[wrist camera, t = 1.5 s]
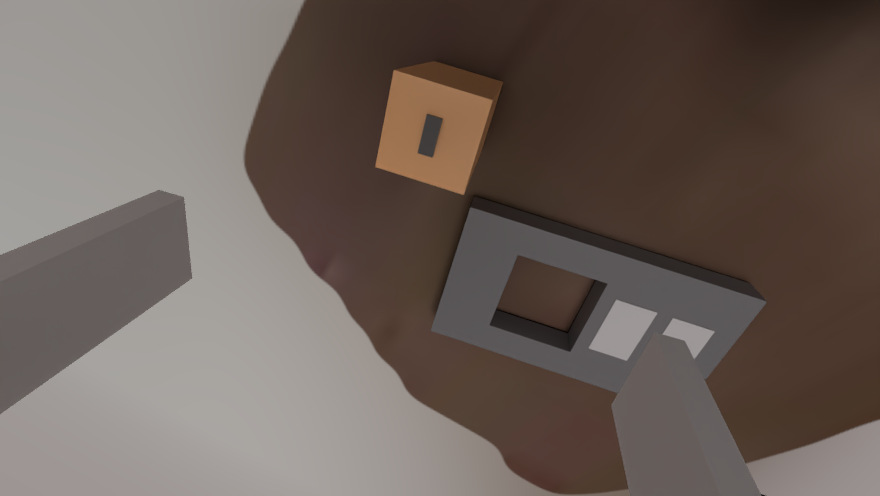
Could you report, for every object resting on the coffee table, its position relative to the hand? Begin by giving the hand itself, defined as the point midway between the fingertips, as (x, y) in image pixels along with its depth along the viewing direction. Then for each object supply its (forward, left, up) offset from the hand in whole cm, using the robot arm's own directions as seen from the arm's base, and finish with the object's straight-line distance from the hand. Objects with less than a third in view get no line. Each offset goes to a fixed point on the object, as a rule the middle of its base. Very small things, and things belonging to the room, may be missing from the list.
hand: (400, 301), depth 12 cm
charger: (-2, -2, -22) cm, 22 cm away
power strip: (+10, +12, -22) cm, 27 cm away
